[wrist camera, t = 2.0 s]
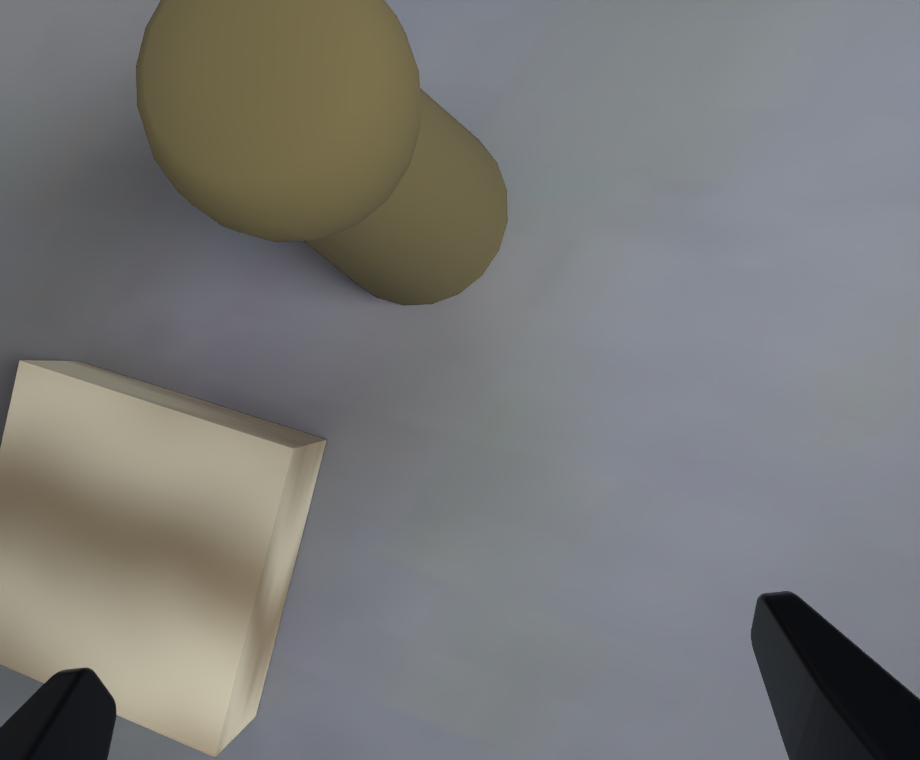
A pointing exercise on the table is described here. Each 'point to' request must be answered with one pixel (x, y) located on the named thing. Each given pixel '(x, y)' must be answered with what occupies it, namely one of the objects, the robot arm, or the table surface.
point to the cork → (320, 140)
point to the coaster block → (148, 544)
